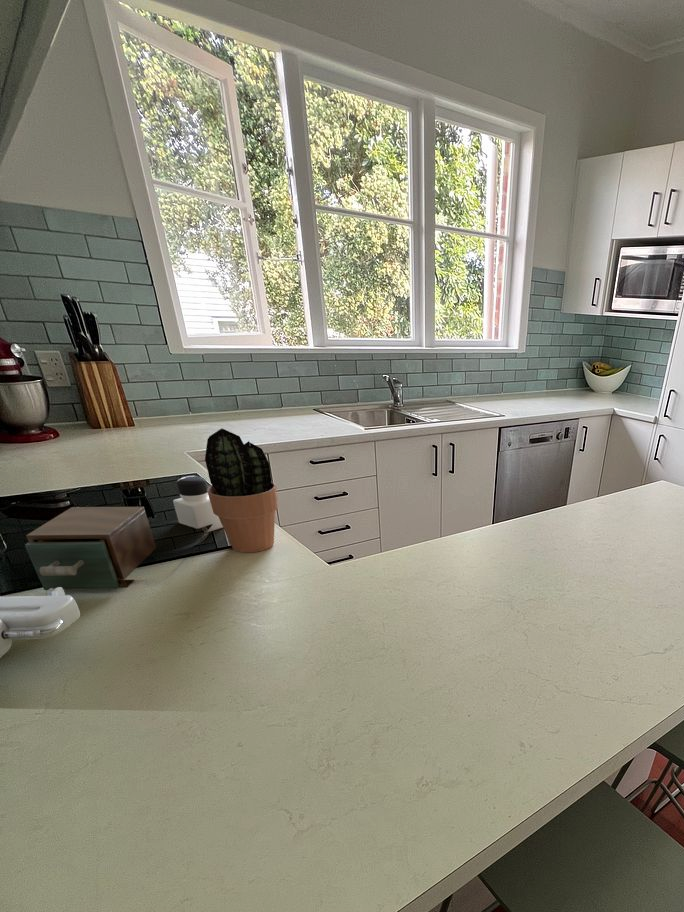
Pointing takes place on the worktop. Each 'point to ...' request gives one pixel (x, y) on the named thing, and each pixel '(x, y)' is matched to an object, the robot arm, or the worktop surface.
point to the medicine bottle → (195, 504)
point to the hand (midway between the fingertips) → (26, 591)
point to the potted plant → (241, 491)
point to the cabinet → (105, 533)
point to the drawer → (73, 563)
